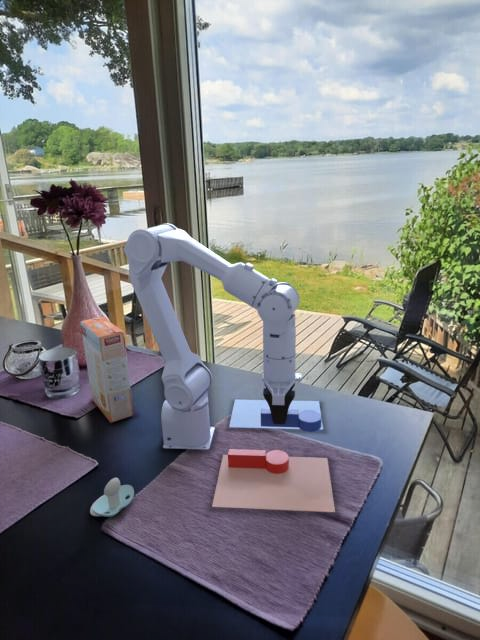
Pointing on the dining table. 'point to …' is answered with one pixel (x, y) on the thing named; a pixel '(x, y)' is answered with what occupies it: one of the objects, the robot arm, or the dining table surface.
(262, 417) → the blue spoon
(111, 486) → the pacifier
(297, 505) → the rose mat
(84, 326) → the cracker box
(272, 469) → the red spoon
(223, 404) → the dining table surface
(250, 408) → the blue mat
